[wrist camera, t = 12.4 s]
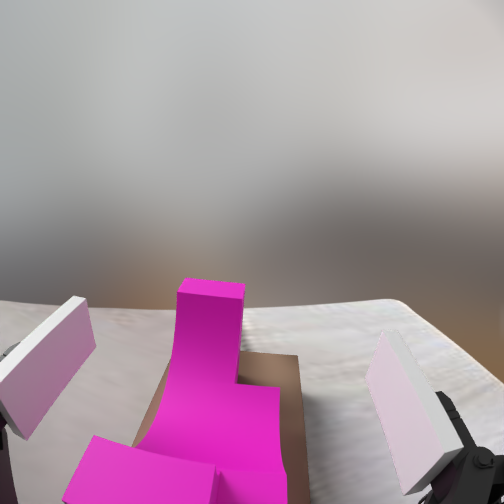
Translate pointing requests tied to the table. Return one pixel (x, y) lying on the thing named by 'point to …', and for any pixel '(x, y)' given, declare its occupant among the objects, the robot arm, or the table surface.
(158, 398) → the base brick
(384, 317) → the table surface
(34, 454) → the table surface
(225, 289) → the toy block
